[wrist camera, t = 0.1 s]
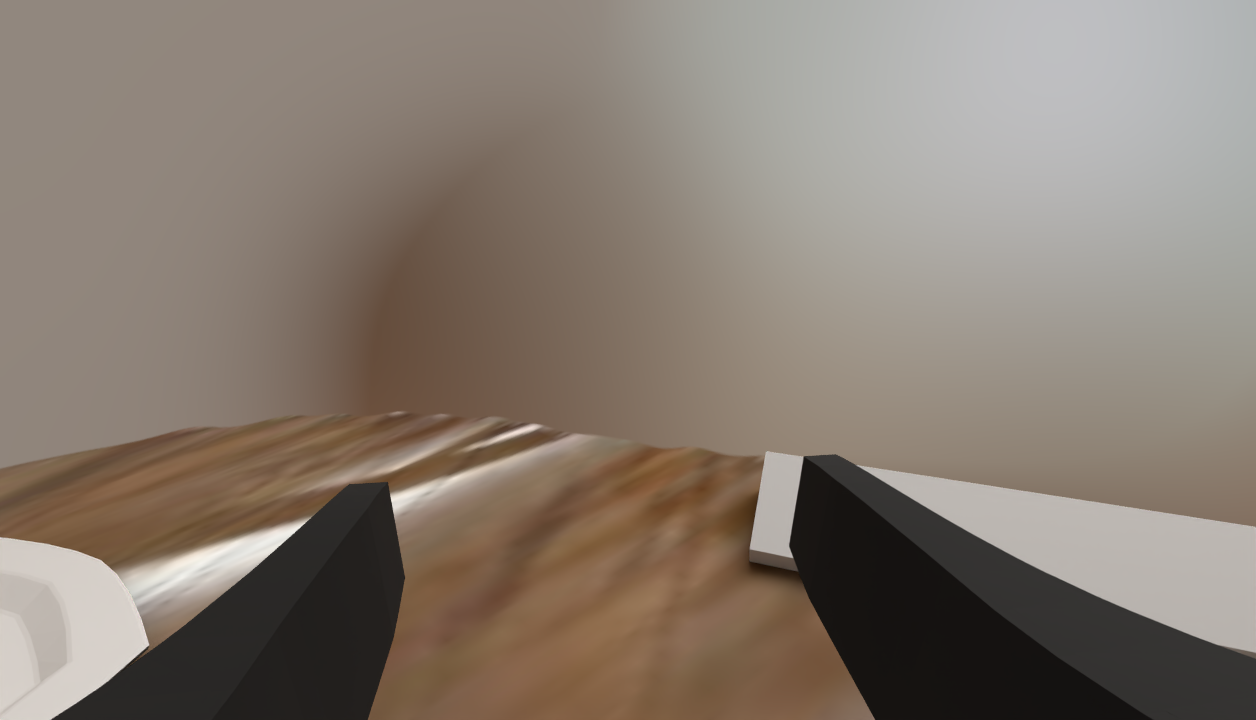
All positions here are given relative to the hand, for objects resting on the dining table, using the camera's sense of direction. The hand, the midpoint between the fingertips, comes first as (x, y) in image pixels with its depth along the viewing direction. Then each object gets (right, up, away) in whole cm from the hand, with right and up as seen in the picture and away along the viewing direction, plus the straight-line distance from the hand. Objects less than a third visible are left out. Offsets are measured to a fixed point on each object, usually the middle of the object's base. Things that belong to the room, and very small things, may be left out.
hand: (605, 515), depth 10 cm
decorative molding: (+27, -13, +31) cm, 43 cm away
